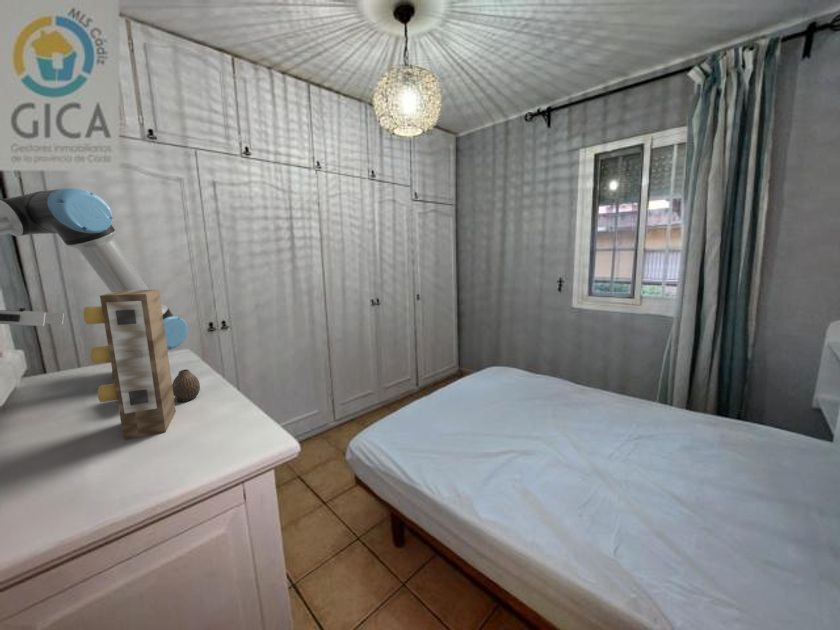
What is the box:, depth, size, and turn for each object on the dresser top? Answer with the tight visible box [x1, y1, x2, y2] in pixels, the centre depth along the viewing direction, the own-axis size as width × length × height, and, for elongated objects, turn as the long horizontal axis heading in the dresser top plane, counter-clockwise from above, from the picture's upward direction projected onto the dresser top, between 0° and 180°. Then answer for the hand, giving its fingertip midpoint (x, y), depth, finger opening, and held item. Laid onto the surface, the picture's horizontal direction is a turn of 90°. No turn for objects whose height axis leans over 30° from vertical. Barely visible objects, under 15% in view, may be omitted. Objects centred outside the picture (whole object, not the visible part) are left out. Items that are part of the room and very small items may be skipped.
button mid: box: [90, 345, 111, 365], centre depth 79 cm, size 4×4×4 cm
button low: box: [97, 383, 117, 403], centre depth 80 cm, size 4×4×4 cm
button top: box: [82, 305, 104, 325], centre depth 77 cm, size 4×4×4 cm
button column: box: [99, 288, 177, 441], centre depth 82 cm, size 8×13×34 cm, turn 26°
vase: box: [172, 369, 201, 402], centre depth 100 cm, size 7×7×9 cm
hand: (54, 319), depth 76 cm, fingers open, 13 cm apart
